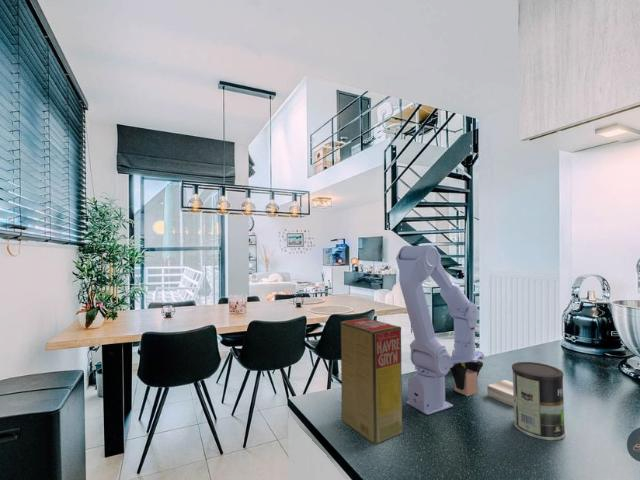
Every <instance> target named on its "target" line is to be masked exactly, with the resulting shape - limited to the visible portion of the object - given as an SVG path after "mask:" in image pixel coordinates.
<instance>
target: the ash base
mask: <svg viewBox="0 0 640 480" xmlns="http://www.w3.org/2000/svg"><path fill="white" fill-rule="evenodd" d="M486 387H487V397H489V398H491V399H494V400H497V401H499V402H500V403H501V402H502V403H503V404H506V405H508V406H510V407H513V408H514V395H513V381H510V380H506V379H503V380H500V381H497V382H496V381H495V382H494V383H493V382H492V383H491V384H488V385H487V386H486Z"/></svg>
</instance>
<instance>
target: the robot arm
mask: <svg viewBox="0 0 640 480" xmlns="http://www.w3.org/2000/svg"><path fill="white" fill-rule="evenodd" d="M395 259H396V260H395V261H396V265H397V267H398V271H399V272H398V278H399V279H398V281H399V285H400V289H401V292H402V293H401V294H402V297H403V300H404V303H405V307H406V312H407V315H408V317H409V318H408V319H409V322H410V326H411V330H412V332H413V333H412V334H413V337H414V339H413V340H412V341H411V342H410V344H409V348H410V360H411V361H410V362H411V363H412V365H413V366H414V370H415V371H416V372H415V374H414V375H412V376H410V377H409V379H408V400H407V401H406V404H408V405H409V406H411V407H413V408H414V409H417V410H418V411H420V412H422V413H423V414H425V415H427V416H428V415H432V414H435V413H437V412H441V411H444V410H447V409H450V408H452V407H453V404H452V403H450V402H449V401H446V384H445V383H446V380H445V379H446V378H445V376H446V375H448V373H449V371H450V372H451V374H452V377H453V381H454V380H455V384H456V388H458V389H461V390H463V389H464V380H465V374H466V371H467V369H469V370H472V371H475V372H477V378H478V377H479V373H480V371H481V369H482V368H483V367H484V362H482V361H480V360H485V353H484V352H482V351H479V350H477V351H476V329H475V328H476V327H477V321H478V318H479V314H480V311H479V308H478V306H477V304H475V303H474V302H473V301H470V300H469V299H468V297H467V296H466V293H464V291H463V290H462V289H461V286H460V284H459V283H457V282H453V281H451V279H450V277H449V275H448V273H447V272H446V269H445V268H444V266H443V265H442V262H441V260H442V255H441V253H439V251H438V249H437V247H435V246H434V245H432V244H428V245H404V246H401V248H400V249H399V251H398V253H397V255H396V257H395ZM429 277H430V278H431V279H432V280H433V281H434V282H435V284H437V286H438V287H439V288H440V290H439V294H440V296H441V298H442V299H443V300H444V302H445V303H446V304H447V307H448V313H449V316H450V317H451V318H453V334H454V335H453V338H454V343H453V346H454V345H455V354H454V355H451V354H450V353H449V352H448V350H447V348H446V345H445V344H444V343H443V342H442V341H441V340H439V339H438V337H437V335H436V333H435V329H434V325H433V322H432V317H431V314H430V310H429V307H428V303H427V302H428V301H427V299H426V295H425V292H424V291H425V290H424V288H423V282H424V281H426V280H428V278H429ZM462 363H464V364H465V367H466V368H465V367H463V365H461V364H462Z"/></svg>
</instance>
